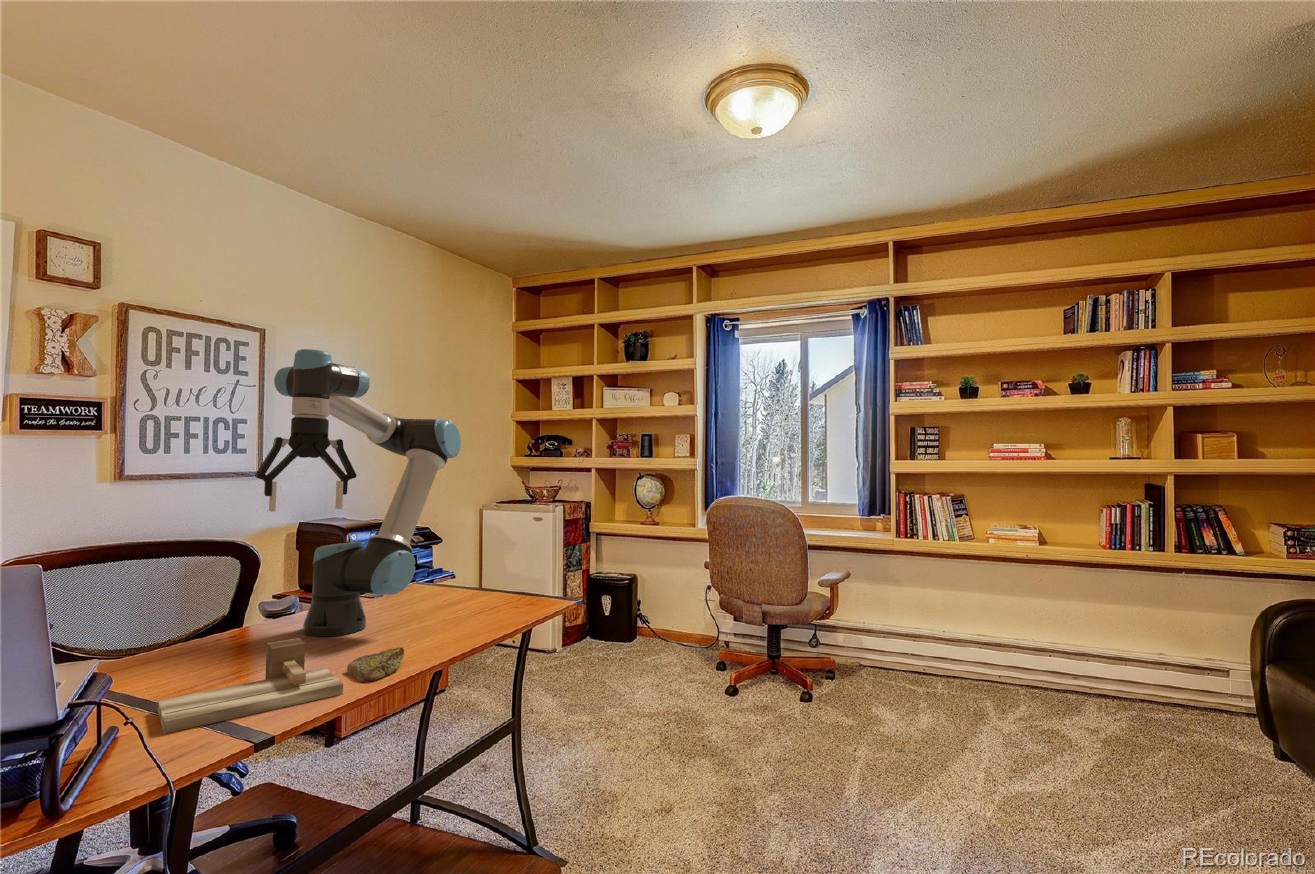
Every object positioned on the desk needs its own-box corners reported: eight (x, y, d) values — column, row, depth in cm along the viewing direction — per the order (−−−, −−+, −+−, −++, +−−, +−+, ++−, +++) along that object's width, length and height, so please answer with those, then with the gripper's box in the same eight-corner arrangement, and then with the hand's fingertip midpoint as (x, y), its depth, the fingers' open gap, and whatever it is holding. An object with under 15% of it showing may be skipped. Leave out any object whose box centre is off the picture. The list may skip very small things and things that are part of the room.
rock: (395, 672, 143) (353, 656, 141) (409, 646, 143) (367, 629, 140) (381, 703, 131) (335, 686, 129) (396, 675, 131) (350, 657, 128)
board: (157, 711, 113) (158, 700, 113) (325, 677, 132) (326, 667, 132) (163, 734, 104) (164, 721, 104) (342, 694, 123) (343, 683, 123)
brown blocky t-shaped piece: (265, 681, 129) (266, 643, 129) (297, 675, 133) (299, 637, 133) (281, 703, 118) (283, 661, 118) (316, 696, 122) (318, 655, 122)
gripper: (249, 413, 131) (244, 513, 130) (372, 420, 148) (369, 509, 147) (243, 414, 137) (238, 510, 136) (362, 420, 153) (359, 506, 153)
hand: (306, 510), depth 142 cm, fingers open, 13 cm apart
